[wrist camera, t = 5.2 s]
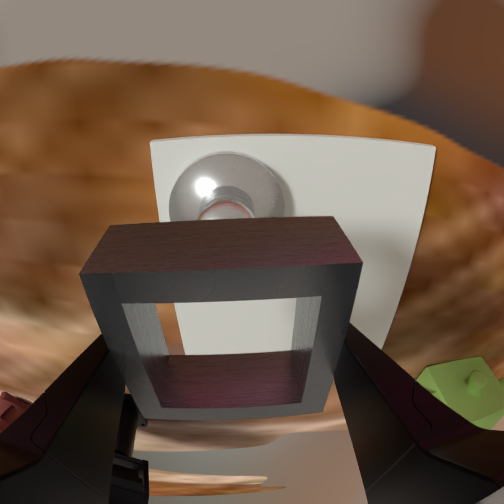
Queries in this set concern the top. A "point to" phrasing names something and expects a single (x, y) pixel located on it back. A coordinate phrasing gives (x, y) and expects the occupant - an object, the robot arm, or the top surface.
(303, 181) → the mat
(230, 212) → the silver domed knob
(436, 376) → the green pegged block
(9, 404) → the mechanical component
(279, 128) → the top surface
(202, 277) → the square frame
